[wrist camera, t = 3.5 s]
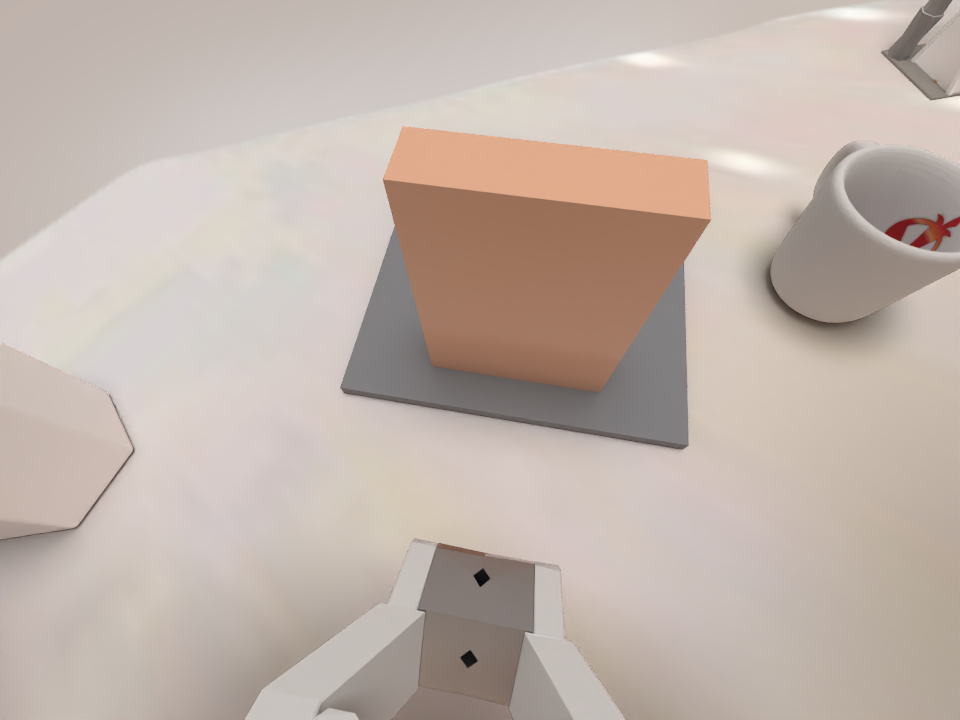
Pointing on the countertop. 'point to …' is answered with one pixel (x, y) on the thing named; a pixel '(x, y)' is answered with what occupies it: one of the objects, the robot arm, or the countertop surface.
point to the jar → (52, 446)
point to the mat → (613, 412)
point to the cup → (871, 232)
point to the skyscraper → (930, 53)
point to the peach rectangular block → (539, 249)
